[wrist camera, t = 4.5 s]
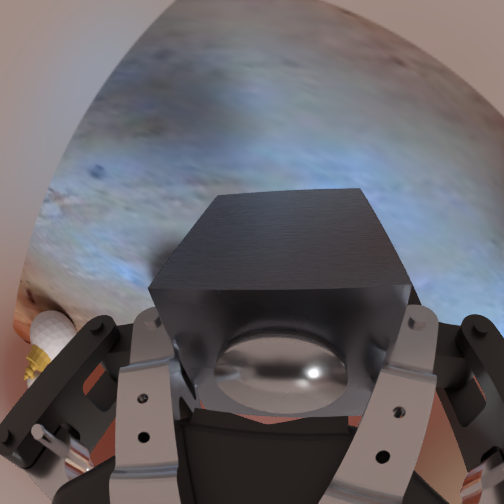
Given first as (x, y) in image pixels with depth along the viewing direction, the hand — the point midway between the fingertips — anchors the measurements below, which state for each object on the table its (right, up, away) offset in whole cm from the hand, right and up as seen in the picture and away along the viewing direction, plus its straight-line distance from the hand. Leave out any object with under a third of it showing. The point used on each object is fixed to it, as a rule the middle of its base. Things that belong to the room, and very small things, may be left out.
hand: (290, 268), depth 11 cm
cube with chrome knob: (0, +1, +1) cm, 1 cm away
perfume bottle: (-28, -10, +22) cm, 38 cm away
